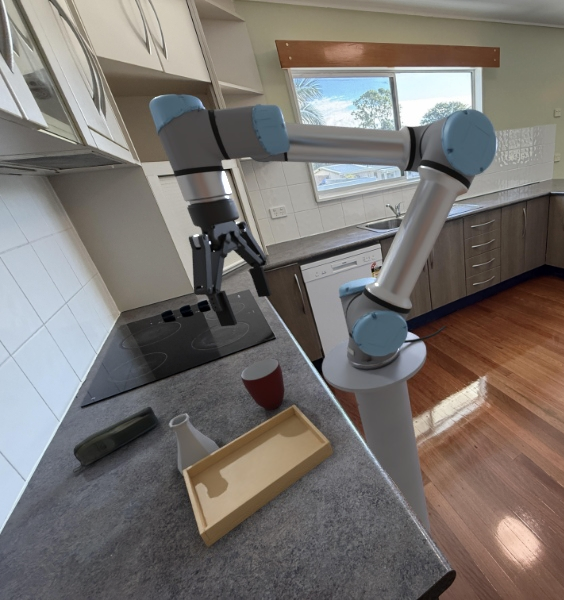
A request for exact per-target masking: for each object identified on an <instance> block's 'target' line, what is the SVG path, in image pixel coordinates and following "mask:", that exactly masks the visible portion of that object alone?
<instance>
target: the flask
mask: <svg viewBox="0 0 564 600" xmlns="http://www.w3.org/2000/svg"><path fill="white" fill-rule="evenodd" d="M168 426H169V428H170V429H171V430H173V431H174V433H175V438H176V442H177V443H176V444H177V445H176V446H177V447H176V448H177V470H178V471H179V473H180V474H181V476H183V477H184V475H183V472H182V471H183V470H185V469H186V468H188V467H190V466H191V465H193V464H195V463H196V462H198V461H200V460H201V459H203V458H205V457H206V456H208V455H210V454H211V453H213V452H215V451H217V450H218V449H220V448H221V447H219V445H218V444H217V443H216V442H215V441H214V440H212V439H211V438H209V437H208V436H206V435H204V434H203V433H202V432H200V431H199V430H198V429H197V428H195V427H194V425H193V424H192V423H191V421H190V416H189V414H188V413H187V412H186V413H182V414H178V415H177V416H175V417H173V418H171V420H170V421H169V423H168Z"/></svg>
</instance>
